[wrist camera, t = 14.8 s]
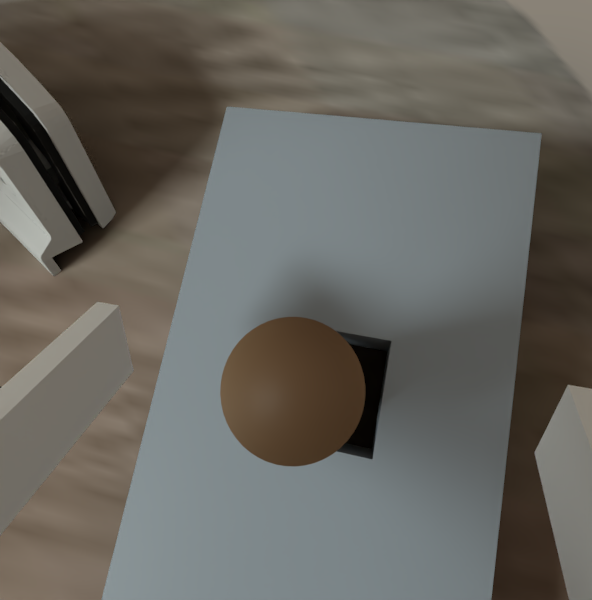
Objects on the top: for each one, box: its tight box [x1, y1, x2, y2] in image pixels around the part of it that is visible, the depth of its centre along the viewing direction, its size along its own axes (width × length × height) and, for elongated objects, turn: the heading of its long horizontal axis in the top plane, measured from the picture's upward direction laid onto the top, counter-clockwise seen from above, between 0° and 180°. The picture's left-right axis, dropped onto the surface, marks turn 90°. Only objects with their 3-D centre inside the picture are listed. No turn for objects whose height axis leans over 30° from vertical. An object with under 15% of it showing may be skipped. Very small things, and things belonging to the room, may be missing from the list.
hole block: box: [102, 107, 542, 600], centre depth 20 cm, size 24×14×4 cm, turn 169°
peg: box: [220, 317, 365, 467], centre depth 16 cm, size 3×3×13 cm
